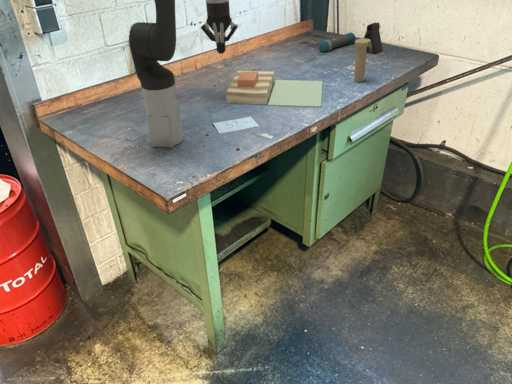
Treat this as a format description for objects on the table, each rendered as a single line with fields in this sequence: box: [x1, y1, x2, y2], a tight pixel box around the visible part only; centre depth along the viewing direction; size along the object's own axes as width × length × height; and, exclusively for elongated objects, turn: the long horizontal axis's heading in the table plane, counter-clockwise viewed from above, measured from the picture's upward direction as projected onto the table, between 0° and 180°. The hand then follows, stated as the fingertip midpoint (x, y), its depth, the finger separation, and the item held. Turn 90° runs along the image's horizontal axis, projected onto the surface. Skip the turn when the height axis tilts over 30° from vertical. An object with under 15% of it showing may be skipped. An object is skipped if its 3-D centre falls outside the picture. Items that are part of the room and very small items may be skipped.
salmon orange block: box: [237, 70, 258, 87], centre depth 153 cm, size 9×6×2 cm, turn 171°
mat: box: [267, 79, 324, 108], centre depth 155 cm, size 24×18×1 cm
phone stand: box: [363, 21, 383, 55], centre depth 190 cm, size 9×6×12 cm, turn 47°
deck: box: [225, 70, 275, 105], centre depth 156 cm, size 22×14×4 cm, turn 171°
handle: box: [353, 37, 371, 83], centre depth 159 cm, size 5×6×15 cm
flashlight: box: [318, 32, 356, 53], centre depth 199 cm, size 5×22×5 cm, turn 131°
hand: (221, 53), depth 150 cm, fingers closed
